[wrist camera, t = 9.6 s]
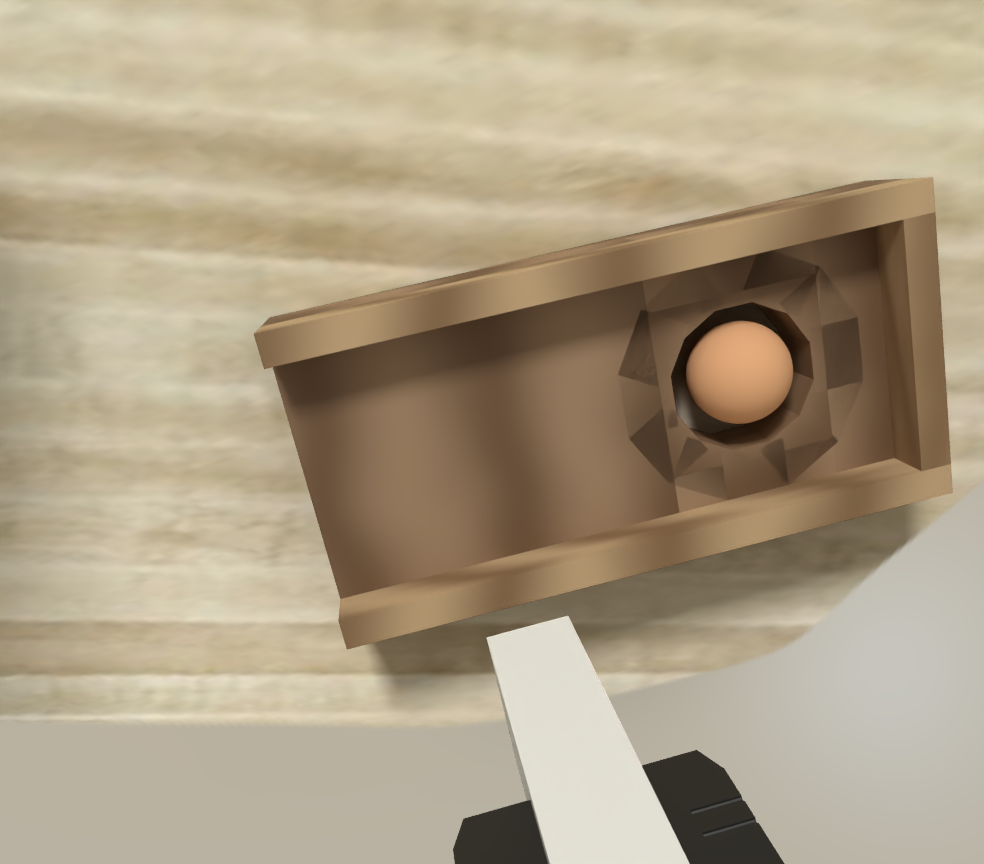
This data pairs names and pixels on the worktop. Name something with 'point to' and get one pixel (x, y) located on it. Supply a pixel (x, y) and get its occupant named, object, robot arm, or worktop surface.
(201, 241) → the worktop surface
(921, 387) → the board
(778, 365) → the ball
